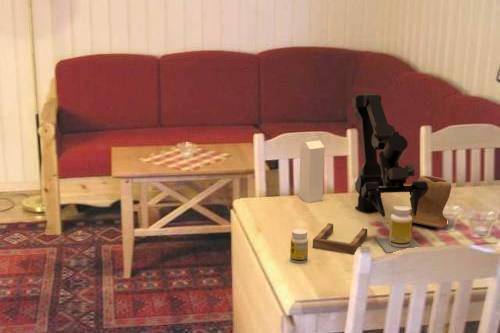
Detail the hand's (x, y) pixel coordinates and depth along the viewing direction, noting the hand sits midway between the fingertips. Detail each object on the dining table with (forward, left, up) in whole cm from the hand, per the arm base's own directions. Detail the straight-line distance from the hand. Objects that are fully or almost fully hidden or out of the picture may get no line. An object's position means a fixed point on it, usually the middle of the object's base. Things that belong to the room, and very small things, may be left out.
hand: (399, 216), depth 213 cm
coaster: (+1, +1, -9) cm, 9 cm away
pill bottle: (+1, +1, -8) cm, 8 cm away
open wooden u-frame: (+13, -10, -9) cm, 19 cm away
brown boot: (-21, -9, -9) cm, 24 cm away
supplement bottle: (+31, -7, -9) cm, 33 cm away
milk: (-6, -47, -9) cm, 48 cm away
